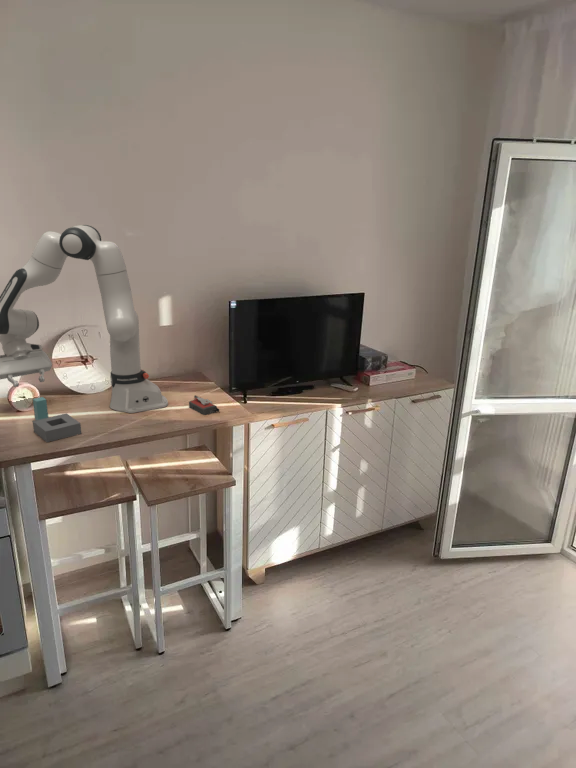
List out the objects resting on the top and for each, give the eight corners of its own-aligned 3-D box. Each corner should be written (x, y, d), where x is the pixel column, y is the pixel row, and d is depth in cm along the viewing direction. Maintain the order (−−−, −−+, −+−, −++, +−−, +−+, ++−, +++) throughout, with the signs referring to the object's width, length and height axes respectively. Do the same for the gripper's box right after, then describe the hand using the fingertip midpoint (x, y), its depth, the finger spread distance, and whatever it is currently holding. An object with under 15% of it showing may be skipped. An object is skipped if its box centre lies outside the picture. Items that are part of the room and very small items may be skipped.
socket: (67, 423, 211) (66, 413, 210) (81, 433, 203) (80, 423, 202) (33, 431, 204) (32, 421, 202) (47, 442, 195) (45, 431, 194)
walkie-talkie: (224, 412, 227) (197, 398, 242) (224, 402, 226) (196, 388, 240) (205, 417, 222) (178, 403, 236) (204, 406, 220) (178, 392, 235)
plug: (44, 417, 217) (42, 396, 214) (48, 419, 214) (46, 399, 212) (35, 419, 215) (32, 398, 212) (38, 422, 212) (36, 401, 210)
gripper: (-11, 352, 212) (1, 384, 208) (45, 344, 225) (58, 374, 221) (-13, 361, 216) (-1, 393, 212) (42, 353, 229) (54, 382, 226)
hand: (29, 383), depth 217 cm, fingers open, 8 cm apart
